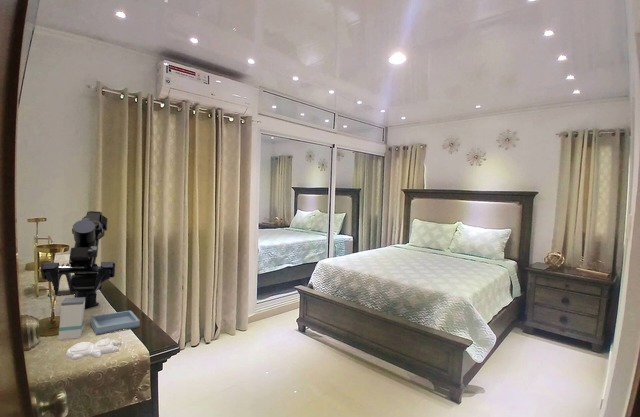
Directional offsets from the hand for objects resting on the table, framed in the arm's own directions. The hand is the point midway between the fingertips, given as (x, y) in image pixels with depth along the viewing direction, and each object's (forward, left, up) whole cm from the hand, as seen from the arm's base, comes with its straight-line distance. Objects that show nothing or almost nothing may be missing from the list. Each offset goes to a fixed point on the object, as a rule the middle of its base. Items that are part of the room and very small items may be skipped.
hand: (75, 293), depth 95 cm
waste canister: (+2, -2, -12) cm, 12 cm away
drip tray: (+6, +9, -12) cm, 16 cm away
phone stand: (-37, +27, -12) cm, 48 cm away
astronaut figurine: (+16, -7, -12) cm, 21 cm away
